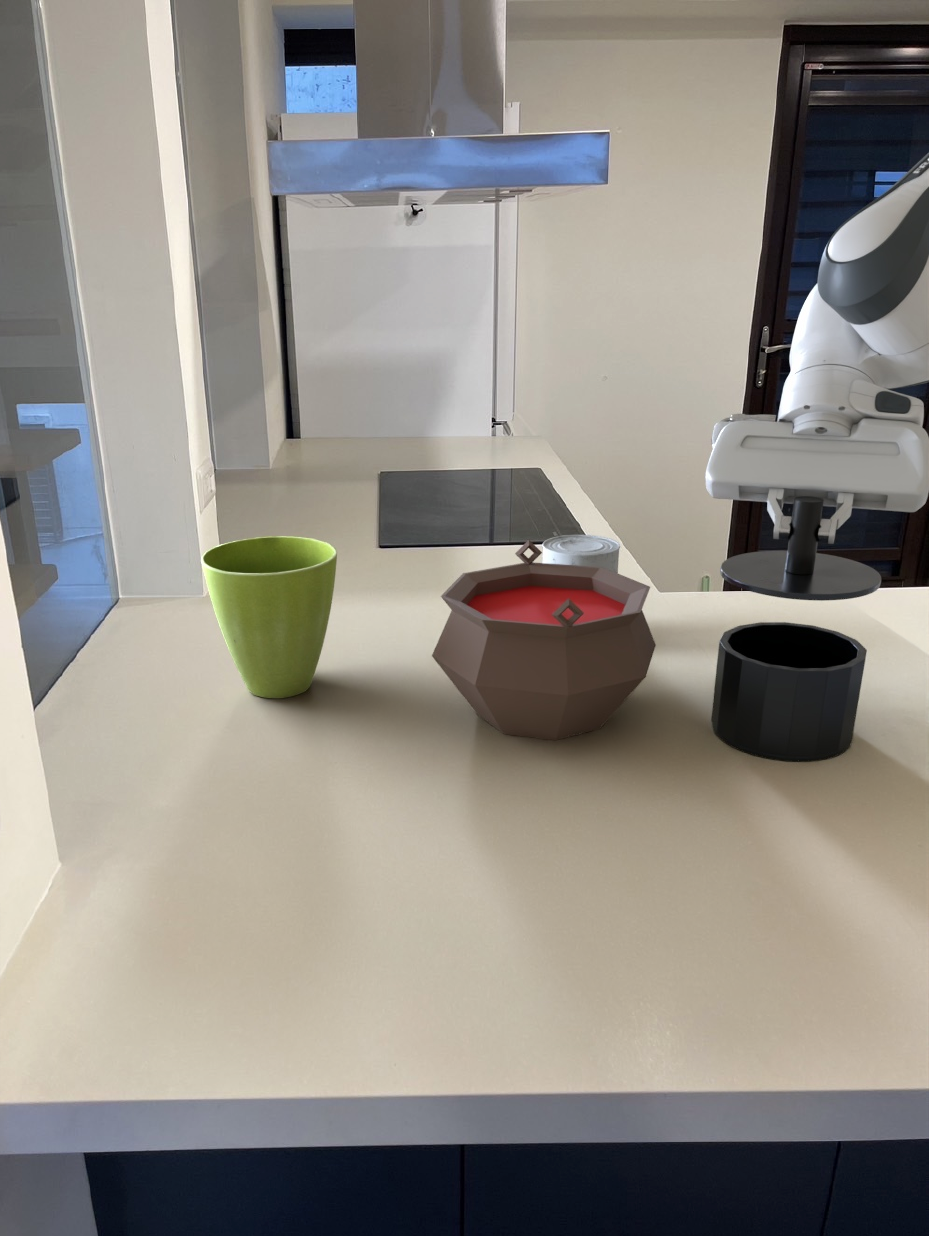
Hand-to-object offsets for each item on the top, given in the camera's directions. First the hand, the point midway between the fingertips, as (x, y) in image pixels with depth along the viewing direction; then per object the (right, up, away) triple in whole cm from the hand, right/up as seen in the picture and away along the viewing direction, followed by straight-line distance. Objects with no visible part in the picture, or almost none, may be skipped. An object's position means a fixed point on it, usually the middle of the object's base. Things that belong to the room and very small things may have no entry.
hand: (803, 538), depth 96 cm
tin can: (-16, -8, +35) cm, 39 cm away
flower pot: (-53, -14, +22) cm, 59 cm away
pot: (+1, -19, +8) cm, 20 cm away
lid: (0, -3, +2) cm, 4 cm away
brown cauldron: (-23, -17, +14) cm, 32 cm away
